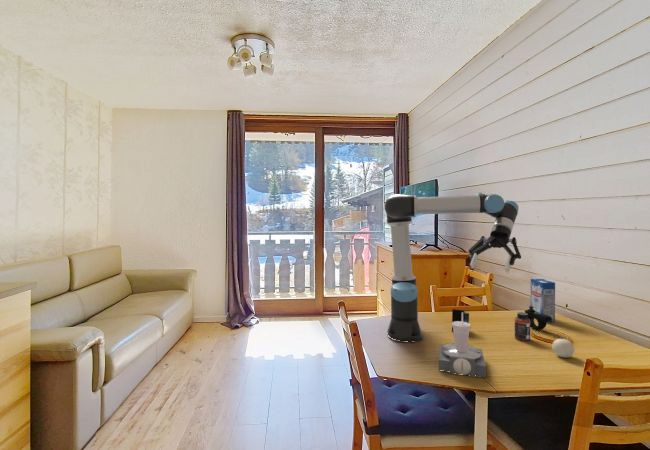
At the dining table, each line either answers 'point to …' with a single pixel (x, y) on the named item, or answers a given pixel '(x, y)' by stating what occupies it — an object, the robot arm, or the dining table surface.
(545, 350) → the dining table surface
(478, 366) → the scale base
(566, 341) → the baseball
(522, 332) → the supplement bottle
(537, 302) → the milk carton
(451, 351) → the scale pan
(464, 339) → the smoothie
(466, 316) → the speaker
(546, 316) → the controller
